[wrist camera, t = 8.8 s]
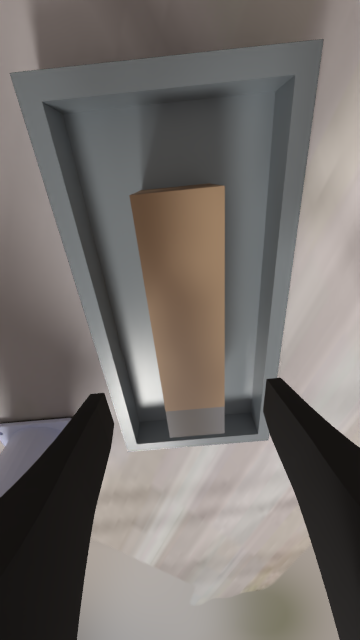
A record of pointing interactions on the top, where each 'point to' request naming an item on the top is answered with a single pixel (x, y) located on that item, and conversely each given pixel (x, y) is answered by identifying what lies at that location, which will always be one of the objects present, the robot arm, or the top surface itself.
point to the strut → (186, 300)
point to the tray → (172, 171)
